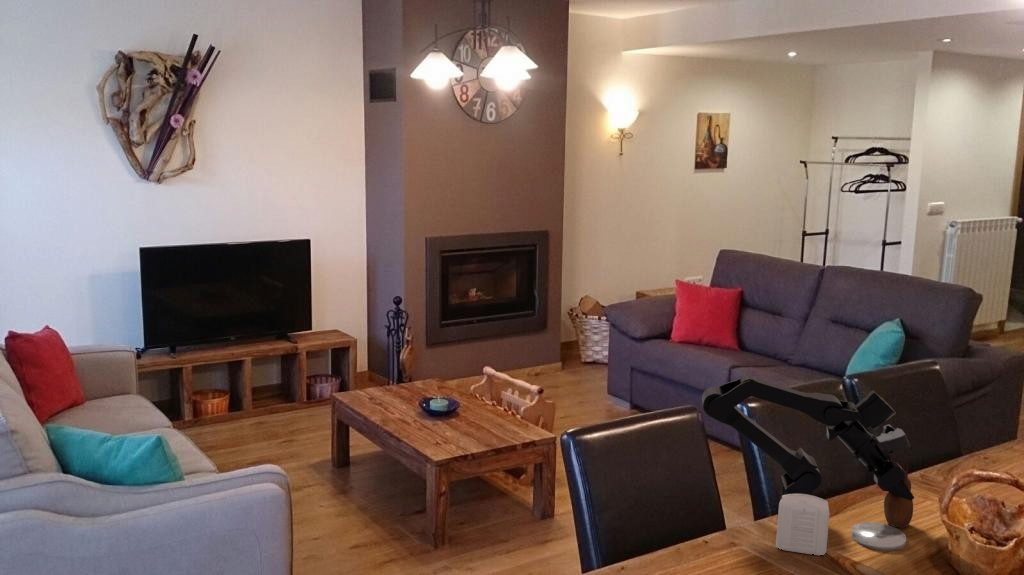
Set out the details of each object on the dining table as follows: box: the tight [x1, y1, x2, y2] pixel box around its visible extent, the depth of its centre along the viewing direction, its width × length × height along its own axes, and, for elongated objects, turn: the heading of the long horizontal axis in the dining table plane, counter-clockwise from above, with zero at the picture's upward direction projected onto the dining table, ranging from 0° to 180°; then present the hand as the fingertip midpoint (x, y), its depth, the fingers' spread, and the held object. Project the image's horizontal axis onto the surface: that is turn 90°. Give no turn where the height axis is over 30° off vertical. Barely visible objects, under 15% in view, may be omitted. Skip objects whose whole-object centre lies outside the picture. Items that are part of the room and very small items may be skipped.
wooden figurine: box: [883, 462, 914, 529], centre depth 203 cm, size 7×6×15 cm
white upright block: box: [775, 494, 830, 556], centre depth 190 cm, size 10×4×12 cm, turn 73°
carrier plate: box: [851, 521, 907, 552], centre depth 197 cm, size 11×11×2 cm
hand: (906, 491), depth 203 cm, fingers open, 9 cm apart
